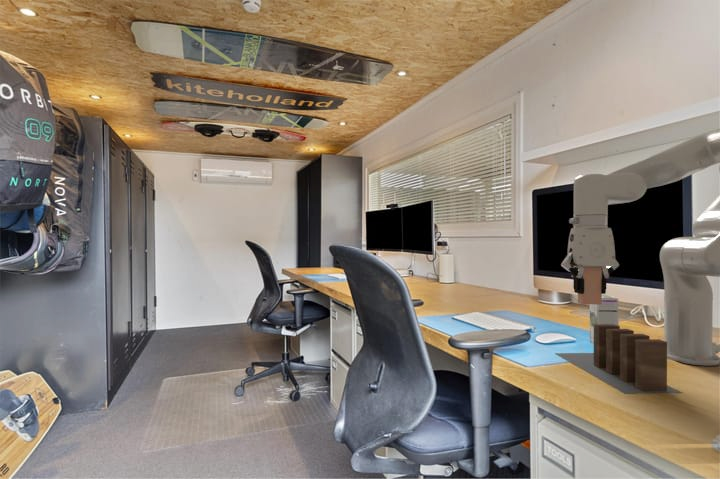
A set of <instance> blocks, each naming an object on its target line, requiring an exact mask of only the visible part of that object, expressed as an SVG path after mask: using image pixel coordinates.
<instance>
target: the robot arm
mask: <svg viewBox="0 0 720 479" xmlns="http://www.w3.org/2000/svg"><path fill="white" fill-rule="evenodd" d="M717 164H719V165H718V171H719V174H720V128H718V129H714V130H710V131H706V132H704V133H701V134H698V135H696V136H694V137H691V138H690V139H688V140H685V141H683V142H681V143H678V144H676V145H674V146H672V147H670V148H667V149H665V150H663V151H660V152H658V153H656V154H655V153H654V154H652V155H650V156H648V157H645V158H644V159H642V160H640V161H637V162H635V163H631V164H629V165H627V166H625V167H622V168H619V169H616V170H615V171H613V172H610V173H607V174H602V173H589V174H581V175H578V176H577V177H575V179H574V180H573V181H574V182H573V217H572V218H569V219H568V223H569V224H572V226H573V227H572V228H570V232H569V236H568V243H567V255H566V256H565V258H564V259H563V261H562V262H561V264H560V266H561V267H562V268H563V269H565V270H566V271H567V272H568V273H569V274H570V276H571V277H572V278H573V285H572V286H573V292H574V293H576V294H578V293H579V294H584V278H582V275H583V271H584V268H585V267H601V269H602V281H601V293H602V295H606V294H607V279H609V278H610V275H611V274H612V273H613V272H614V271H615V270H616V269H618V267H619V266H620V264H619V262H618V261H617V259H616V249H615V240H614V235H613V230H612V228H611V227H608V218H609V216H608V215H609V214H608V213H609V212H608V211H609V209H608V208H609V207H608V206H609V205H618V204H625V203H626V204H627V203H631V202H634V201H637V200H639V199H641V198H642V197H643V196H644V195H645V193H646V192H647V190H648V189H651V188H656V187H661V186H665V185H668V184H673V183H675V182H678V181H680V180H682V179H685V178H687V177H689V176H691V175H694V174H696V173H697V172H700V171H703V170H705V169H707V168H709V167H711V166H714V165H717ZM691 227H692V228H691V229H692V230H691V232H692V234H693V236H682V237H681V236H680V237H675V238H672V239H670V240H667V242H665V243H664V244H663V245H662V246H661V248H660V251H659V262H660V265H661V269H662V275H663V284H664V285H663V286H664V288H663V290H664V291H663V292H664V293H663V294H664V297H663V301H664V302H663V310H664V311H663V315H664V316H663V322H664V323H663V325H664V327H663V331H664V332H663V335H664V336H663V341H666V342H667V360H671V361H674V362H678V363H682V364H687V365H696V366H706V367H710V366H713V367H714V366H718V365H720V357H719V356H718V355H717V354H718V353H720V344H717V343H716V342H713V311H714V309H713V304H714V303H713V301H714V296H713V295H714V294H713V293H714V292H713V288H712V286H711V283H710V281H709V278H708V277H713V278H714V277H715V278H720V194H718V195H717V197H716V198H715V199H714V200H713V201H712V202H711V204H709V205H708V206H707V207H706V209H704V211H702V212H701V214H700V215H699V216H698V217H697V218H696V219H695V220H694V222H693V224H692V226H691Z"/></svg>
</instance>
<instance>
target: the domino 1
mask: <svg viewBox="0 0 720 479" xmlns="http://www.w3.org/2000/svg"><path fill="white" fill-rule="evenodd" d="M582 278H584V294H579V293H577V304H580V305H590V304H602V295H603V294H602V293H601V281H602V269H601V267H585V268H584V271H583V275H582Z"/></svg>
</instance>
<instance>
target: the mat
mask: <svg viewBox="0 0 720 479" xmlns="http://www.w3.org/2000/svg"><path fill="white" fill-rule="evenodd" d="M554 355H556V356H558V357H560V358H562V359H563V360H566V362H569V363H570V364H572V365H573V366H576V367H577V368H579V369H580V370H583V371H584V372H585V373H587V374H589V375H591V376H592V377H595V378H596V379H598V380H600V381H601V382H604V383H605V384H607V385H609V387H611V388H613V389H616V390H617V391H619V392H620V393H622V394H624V395H627V394H628V395H631V394H632V395H634V394H635V395H639V394H640V395H642V394H644V395H646V394H650V395H651V394H684V392H683V391H680V390H678V389H677V388H674V387H672V386H670V385H668V384H667V391H641V390H640V389H638V388H636V387H635V383H626V382H624V381H623V380H621V379H620V375H611V374H609V373H607V372H606V368H598V367H596V366H594V352H567V353H565V352H561V353H559V352H554Z"/></svg>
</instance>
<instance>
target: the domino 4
mask: <svg viewBox="0 0 720 479" xmlns="http://www.w3.org/2000/svg"><path fill="white" fill-rule="evenodd" d="M639 339H651V338H650V335H648V334H644V333H634V334H620V379H621V380H623V381H624V382H626V383H635V355H636V340H639Z"/></svg>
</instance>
